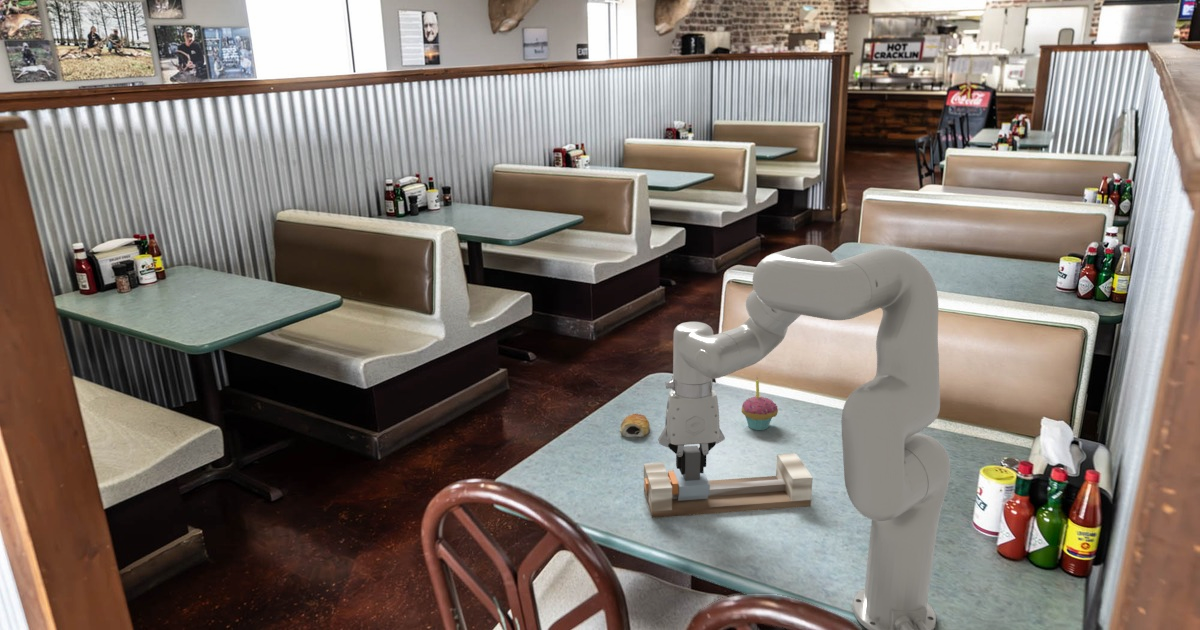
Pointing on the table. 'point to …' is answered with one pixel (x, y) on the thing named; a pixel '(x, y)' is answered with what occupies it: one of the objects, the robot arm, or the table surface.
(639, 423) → the pastry
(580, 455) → the table surface
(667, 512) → the rail bench
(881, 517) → the robot arm
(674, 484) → the button
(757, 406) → the cupcake
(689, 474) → the carriage
